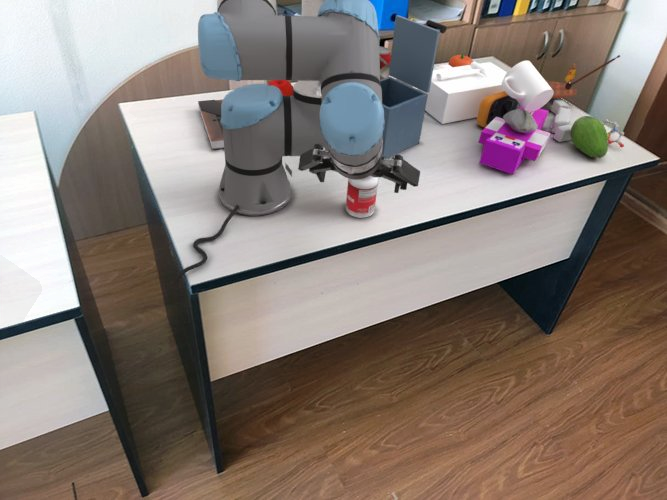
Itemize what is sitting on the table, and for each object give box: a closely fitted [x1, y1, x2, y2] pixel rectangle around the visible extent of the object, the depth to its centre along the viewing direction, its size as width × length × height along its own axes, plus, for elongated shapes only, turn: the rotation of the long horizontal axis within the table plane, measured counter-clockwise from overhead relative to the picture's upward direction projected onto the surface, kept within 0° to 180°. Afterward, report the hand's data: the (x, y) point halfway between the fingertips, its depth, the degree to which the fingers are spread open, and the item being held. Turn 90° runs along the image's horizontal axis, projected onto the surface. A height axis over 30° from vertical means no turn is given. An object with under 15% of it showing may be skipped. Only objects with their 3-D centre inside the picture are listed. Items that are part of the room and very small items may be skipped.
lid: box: [389, 14, 447, 93], centre depth 128 cm, size 14×13×9 cm
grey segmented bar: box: [550, 98, 574, 143], centre depth 147 cm, size 20×4×7 cm
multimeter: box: [476, 91, 521, 129], centre depth 146 cm, size 9×18×3 cm
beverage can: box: [379, 45, 391, 80], centre depth 155 cm, size 7×7×12 cm
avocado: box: [571, 115, 609, 159], centre depth 136 cm, size 8×8×12 cm
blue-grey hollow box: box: [380, 76, 428, 159], centre depth 131 cm, size 14×13×13 cm
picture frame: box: [197, 99, 224, 150], centre depth 137 cm, size 16×2×22 cm
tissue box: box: [418, 61, 508, 125], centre depth 150 cm, size 14×25×11 cm, turn 116°
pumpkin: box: [447, 53, 474, 67], centre depth 168 cm, size 8×8×7 cm
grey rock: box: [503, 109, 538, 133], centre depth 130 cm, size 12×8×5 cm
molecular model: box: [603, 118, 625, 148], centre depth 141 cm, size 7×8×8 cm
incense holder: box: [544, 54, 621, 99], centre depth 156 cm, size 21×30×11 cm
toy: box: [478, 106, 552, 175], centre depth 136 cm, size 14×6×30 cm
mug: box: [502, 60, 554, 114], centre depth 137 cm, size 12×8×10 cm
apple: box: [267, 80, 294, 96], centre depth 145 cm, size 8×8×7 cm
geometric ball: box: [433, 63, 452, 70], centre depth 159 cm, size 8×8×8 cm
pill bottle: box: [345, 176, 379, 219], centre depth 109 cm, size 6×6×11 cm
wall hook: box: [380, 57, 390, 79], centre depth 148 cm, size 5×30×4 cm
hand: (360, 180), depth 97 cm, fingers open, 13 cm apart
